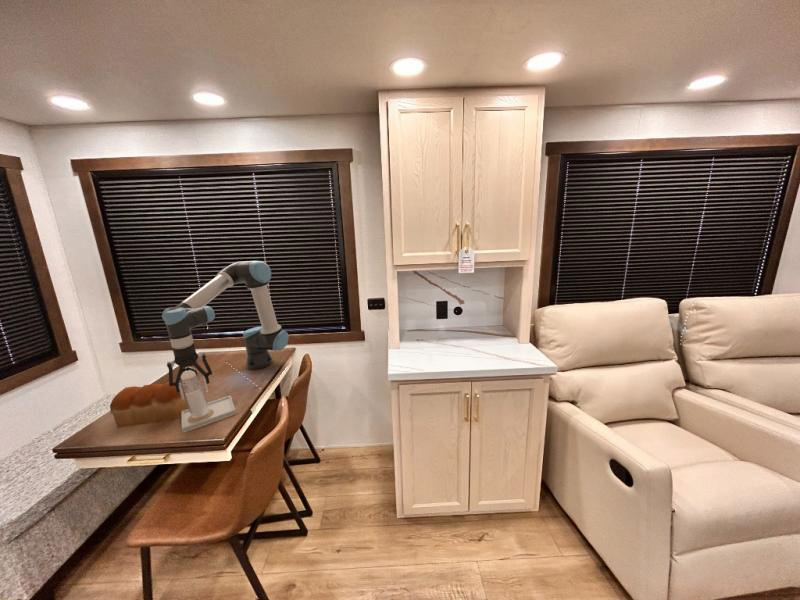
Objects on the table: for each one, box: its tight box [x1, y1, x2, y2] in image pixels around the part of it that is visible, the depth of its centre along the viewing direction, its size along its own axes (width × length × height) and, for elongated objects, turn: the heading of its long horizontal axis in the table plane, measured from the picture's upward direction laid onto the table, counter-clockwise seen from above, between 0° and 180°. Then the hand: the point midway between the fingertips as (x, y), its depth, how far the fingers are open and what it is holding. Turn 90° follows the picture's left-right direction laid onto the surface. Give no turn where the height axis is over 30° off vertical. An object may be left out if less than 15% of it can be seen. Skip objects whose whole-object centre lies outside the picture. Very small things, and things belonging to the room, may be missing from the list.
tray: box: [180, 395, 237, 434], centre depth 138 cm, size 20×16×2 cm
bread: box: [109, 380, 188, 428], centre depth 139 cm, size 25×12×15 cm, turn 101°
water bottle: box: [179, 366, 209, 419], centre depth 132 cm, size 7×7×25 cm
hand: (195, 394), depth 132 cm, fingers open, 8 cm apart
